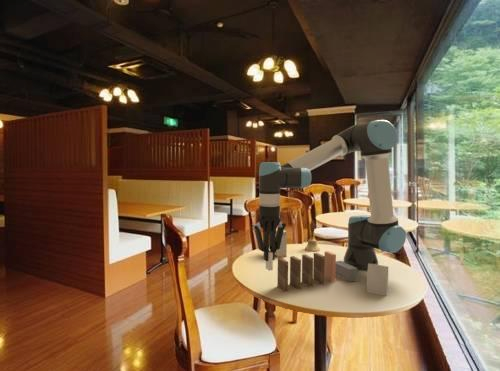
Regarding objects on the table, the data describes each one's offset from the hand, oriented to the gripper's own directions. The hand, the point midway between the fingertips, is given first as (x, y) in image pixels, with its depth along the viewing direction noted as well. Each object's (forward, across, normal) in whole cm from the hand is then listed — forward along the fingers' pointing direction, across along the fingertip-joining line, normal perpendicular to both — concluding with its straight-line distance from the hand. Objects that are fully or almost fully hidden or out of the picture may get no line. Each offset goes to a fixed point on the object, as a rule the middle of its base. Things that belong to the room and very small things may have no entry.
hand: (269, 269), depth 104 cm
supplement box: (+9, -25, -37) cm, 45 cm away
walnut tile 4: (+8, -22, 0) cm, 24 cm away
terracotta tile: (+8, -28, 0) cm, 29 cm away
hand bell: (+9, -47, -38) cm, 61 cm away
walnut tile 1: (+8, -6, 0) cm, 10 cm away
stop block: (+8, -36, 0) cm, 37 cm away
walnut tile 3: (+8, -17, 0) cm, 19 cm away
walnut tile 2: (+8, -11, 0) cm, 14 cm away
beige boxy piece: (+9, -36, +16) cm, 41 cm away
